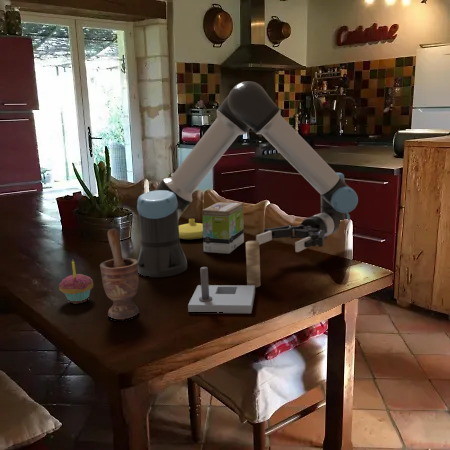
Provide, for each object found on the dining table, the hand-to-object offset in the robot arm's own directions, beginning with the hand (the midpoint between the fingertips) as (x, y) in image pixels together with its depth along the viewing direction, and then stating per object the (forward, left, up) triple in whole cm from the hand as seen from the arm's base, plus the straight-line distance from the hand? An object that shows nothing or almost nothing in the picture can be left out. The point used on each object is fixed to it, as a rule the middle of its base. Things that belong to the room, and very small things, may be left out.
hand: (276, 243), depth 135 cm
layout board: (-13, -20, -9) cm, 26 cm away
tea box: (-19, +29, -10) cm, 36 cm away
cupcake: (-51, -20, -10) cm, 55 cm away
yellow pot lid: (-33, +43, -10) cm, 55 cm away
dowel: (-6, -8, -9) cm, 14 cm away
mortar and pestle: (-37, -27, -10) cm, 47 cm away
